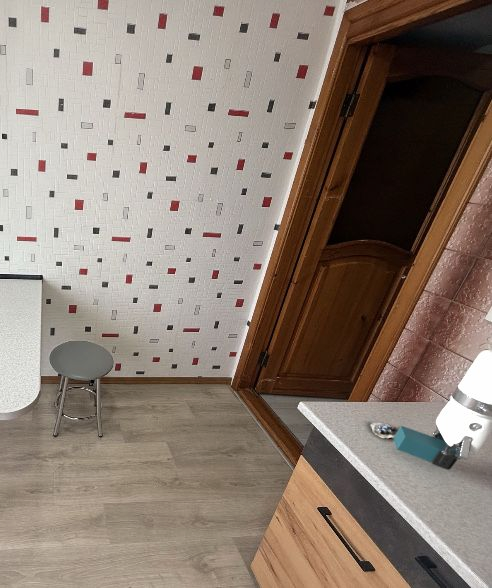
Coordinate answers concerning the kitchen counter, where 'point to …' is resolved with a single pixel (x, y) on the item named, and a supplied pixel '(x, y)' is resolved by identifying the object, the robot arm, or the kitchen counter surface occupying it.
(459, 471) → the kitchen counter surface
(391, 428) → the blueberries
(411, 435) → the teal rectangular block
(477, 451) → the robot arm
